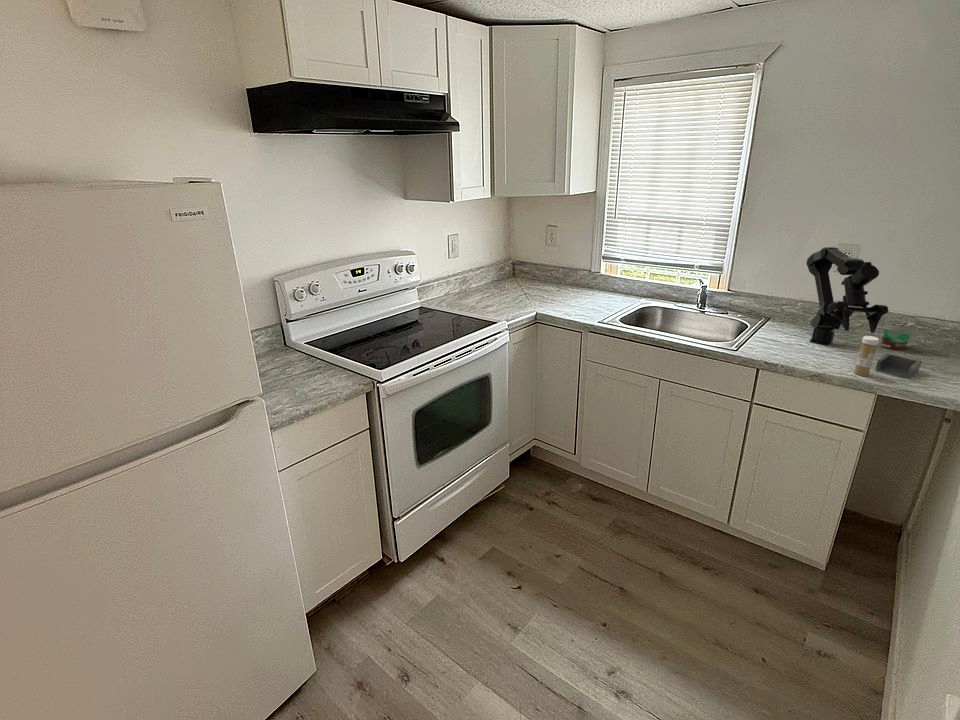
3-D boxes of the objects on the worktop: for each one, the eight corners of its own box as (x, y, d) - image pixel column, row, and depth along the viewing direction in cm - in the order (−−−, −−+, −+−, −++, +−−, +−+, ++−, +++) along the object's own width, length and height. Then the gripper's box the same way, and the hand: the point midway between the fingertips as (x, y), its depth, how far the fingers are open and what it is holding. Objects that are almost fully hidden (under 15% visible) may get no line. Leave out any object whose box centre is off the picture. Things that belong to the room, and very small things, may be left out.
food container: (893, 353, 198) (900, 328, 194) (877, 347, 204) (884, 323, 200) (917, 349, 201) (924, 324, 197) (901, 344, 207) (908, 320, 203)
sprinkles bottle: (850, 371, 182) (859, 335, 177) (862, 371, 182) (872, 335, 177) (860, 376, 178) (870, 340, 173) (872, 376, 178) (883, 339, 173)
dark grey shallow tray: (874, 370, 183) (878, 360, 181) (884, 363, 188) (887, 353, 187) (909, 379, 175) (913, 368, 174) (918, 371, 181) (921, 361, 180)
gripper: (863, 302, 196) (868, 341, 191) (814, 297, 196) (819, 336, 191) (886, 290, 185) (892, 331, 181) (835, 285, 185) (840, 326, 180)
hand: (859, 331), depth 184 cm, fingers open, 9 cm apart
